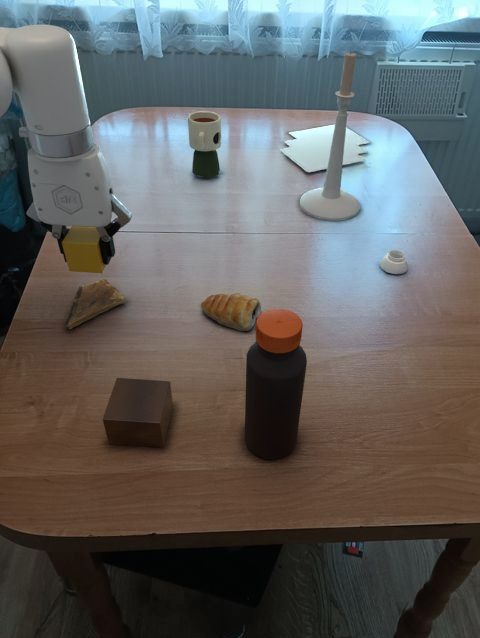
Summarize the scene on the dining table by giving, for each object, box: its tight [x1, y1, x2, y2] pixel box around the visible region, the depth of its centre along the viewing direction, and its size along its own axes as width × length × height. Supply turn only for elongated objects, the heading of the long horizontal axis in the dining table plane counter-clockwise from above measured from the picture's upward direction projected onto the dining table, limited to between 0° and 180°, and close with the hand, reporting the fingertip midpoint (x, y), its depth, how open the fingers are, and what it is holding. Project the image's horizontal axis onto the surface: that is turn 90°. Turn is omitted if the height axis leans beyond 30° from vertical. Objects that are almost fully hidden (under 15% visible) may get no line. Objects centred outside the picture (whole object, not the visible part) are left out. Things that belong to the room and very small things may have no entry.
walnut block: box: [102, 377, 174, 449], centre depth 69 cm, size 7×7×5 cm
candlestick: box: [299, 52, 361, 222], centre depth 105 cm, size 13×13×30 cm
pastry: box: [200, 292, 262, 332], centre depth 87 cm, size 9×7×4 cm
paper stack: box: [278, 124, 371, 173], centre depth 137 cm, size 23×25×1 cm
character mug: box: [187, 110, 222, 179], centre depth 120 cm, size 11×7×13 cm, turn 175°
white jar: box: [379, 249, 409, 275], centre depth 99 cm, size 5×3×5 cm
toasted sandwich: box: [64, 278, 126, 330], centre depth 87 cm, size 11×8×2 cm
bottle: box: [244, 307, 308, 460], centre depth 63 cm, size 7×7×20 cm
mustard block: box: [62, 226, 107, 274], centre depth 80 cm, size 5×5×5 cm
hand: (89, 257), depth 81 cm, fingers closed on mustard block, 5 cm apart
